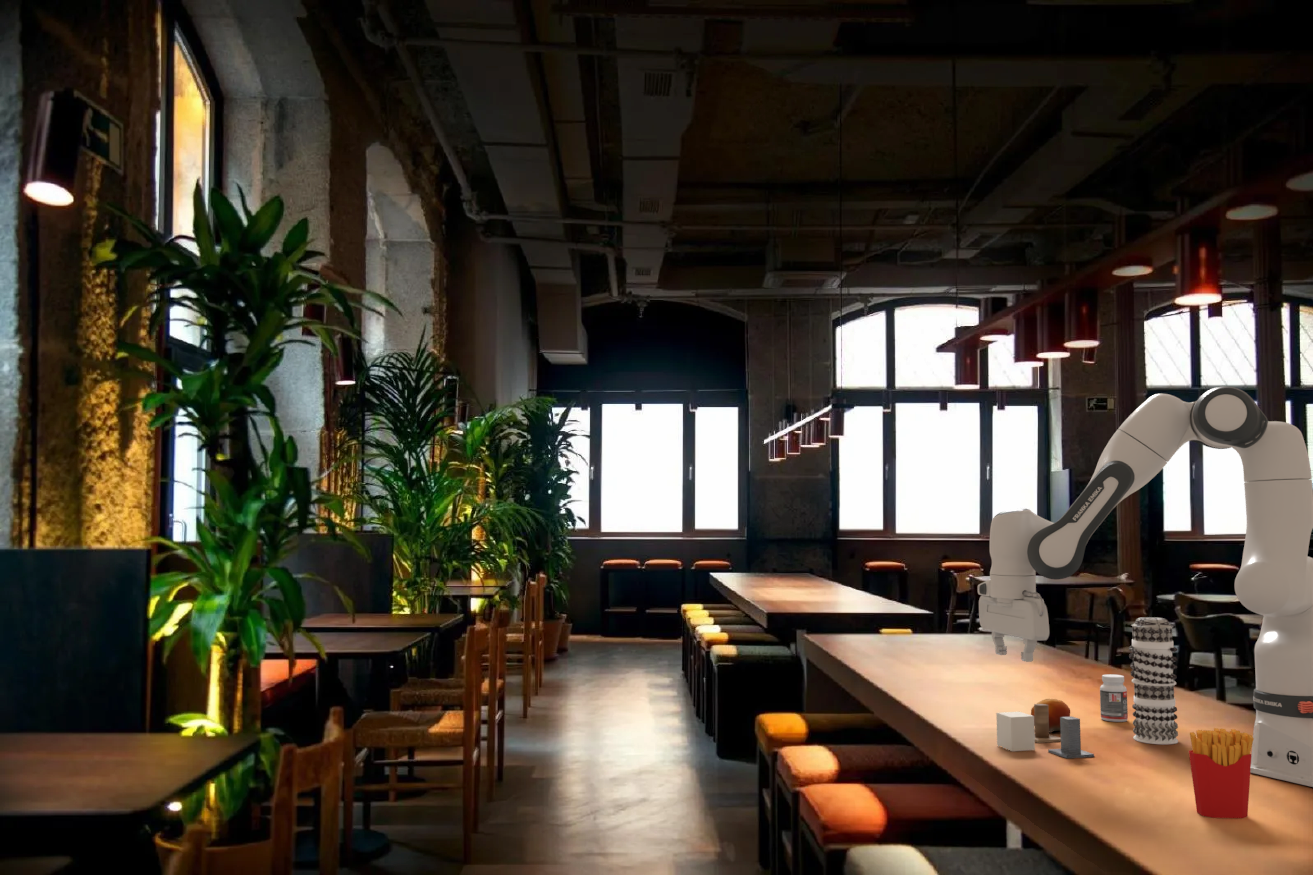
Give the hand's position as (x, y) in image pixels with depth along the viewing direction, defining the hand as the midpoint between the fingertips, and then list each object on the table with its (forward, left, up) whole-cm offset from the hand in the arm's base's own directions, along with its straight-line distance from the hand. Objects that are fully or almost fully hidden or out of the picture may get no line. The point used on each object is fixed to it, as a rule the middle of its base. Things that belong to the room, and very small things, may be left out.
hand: (1013, 657), depth 222 cm
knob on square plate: (+6, -10, -18) cm, 21 cm away
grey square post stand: (-8, -7, -18) cm, 21 cm away
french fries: (-51, -4, -18) cm, 55 cm away
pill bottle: (+20, -38, -18) cm, 46 cm away
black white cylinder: (-1, -32, -18) cm, 36 cm away
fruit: (+13, -17, -18) cm, 28 cm away
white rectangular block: (0, 0, -18) cm, 18 cm away
